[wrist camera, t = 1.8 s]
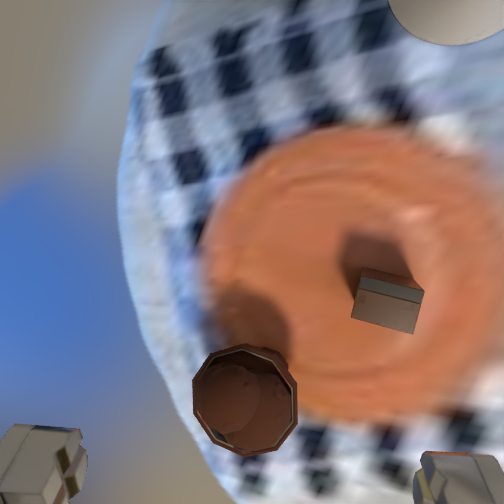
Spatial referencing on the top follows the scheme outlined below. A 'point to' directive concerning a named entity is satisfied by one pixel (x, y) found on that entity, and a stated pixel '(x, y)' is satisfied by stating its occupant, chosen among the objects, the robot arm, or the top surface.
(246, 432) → the ice cream bowl
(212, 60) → the top surface
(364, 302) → the eraser
